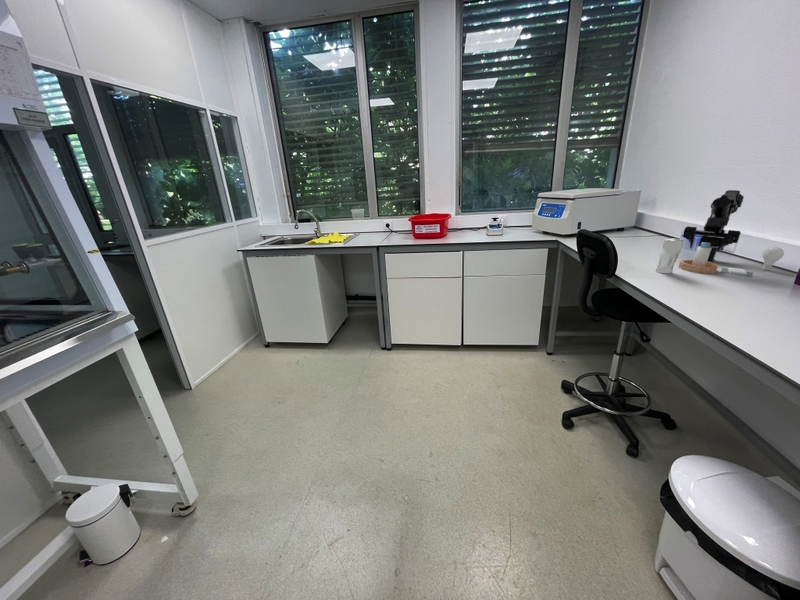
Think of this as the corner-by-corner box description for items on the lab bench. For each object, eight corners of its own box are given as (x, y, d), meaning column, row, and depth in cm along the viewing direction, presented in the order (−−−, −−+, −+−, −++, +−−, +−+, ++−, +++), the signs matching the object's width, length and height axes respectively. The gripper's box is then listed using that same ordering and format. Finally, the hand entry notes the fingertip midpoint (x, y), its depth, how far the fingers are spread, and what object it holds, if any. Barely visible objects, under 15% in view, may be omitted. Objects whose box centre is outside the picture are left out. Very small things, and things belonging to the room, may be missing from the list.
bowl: (680, 264, 157) (683, 258, 155) (716, 269, 148) (719, 263, 147) (676, 270, 148) (678, 263, 147) (714, 276, 140) (716, 269, 138)
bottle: (695, 266, 151) (704, 241, 146) (706, 269, 146) (716, 243, 142) (687, 267, 150) (696, 242, 145) (698, 270, 145) (707, 244, 141)
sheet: (727, 269, 146) (728, 267, 146) (742, 271, 144) (743, 269, 143) (730, 273, 141) (731, 271, 141) (746, 275, 138) (747, 273, 138)
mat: (721, 268, 149) (722, 267, 149) (752, 273, 142) (752, 272, 142) (720, 273, 143) (720, 272, 143) (752, 278, 136) (752, 277, 136)
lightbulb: (771, 269, 147) (782, 246, 142) (778, 273, 141) (789, 249, 137) (752, 268, 149) (762, 244, 145) (759, 271, 144) (769, 247, 140)
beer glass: (666, 269, 149) (677, 237, 143) (677, 274, 142) (688, 241, 137) (650, 269, 150) (660, 237, 144) (660, 274, 143) (671, 241, 137)
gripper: (691, 208, 148) (678, 236, 145) (748, 212, 135) (736, 242, 132) (689, 223, 156) (677, 249, 153) (743, 228, 143) (731, 256, 140)
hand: (703, 249), depth 145 cm, fingers open, 9 cm apart
